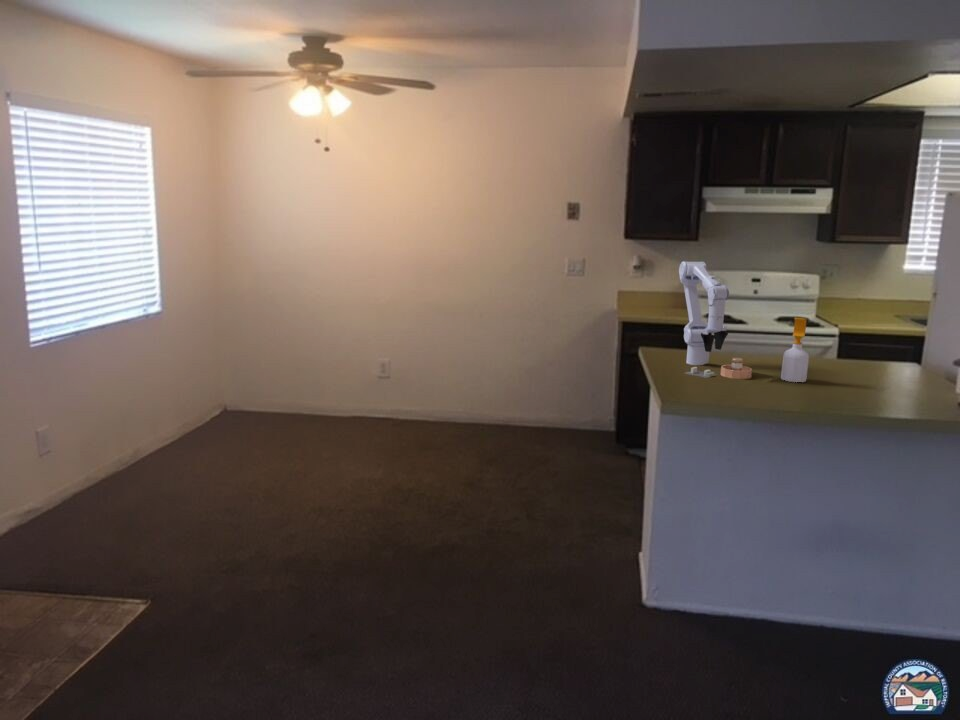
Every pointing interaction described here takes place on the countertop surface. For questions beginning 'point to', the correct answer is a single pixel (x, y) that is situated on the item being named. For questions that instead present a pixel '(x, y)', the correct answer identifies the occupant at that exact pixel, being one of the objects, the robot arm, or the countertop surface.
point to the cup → (736, 372)
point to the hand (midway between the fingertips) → (713, 350)
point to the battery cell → (736, 364)
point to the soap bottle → (796, 356)
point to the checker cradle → (701, 373)
